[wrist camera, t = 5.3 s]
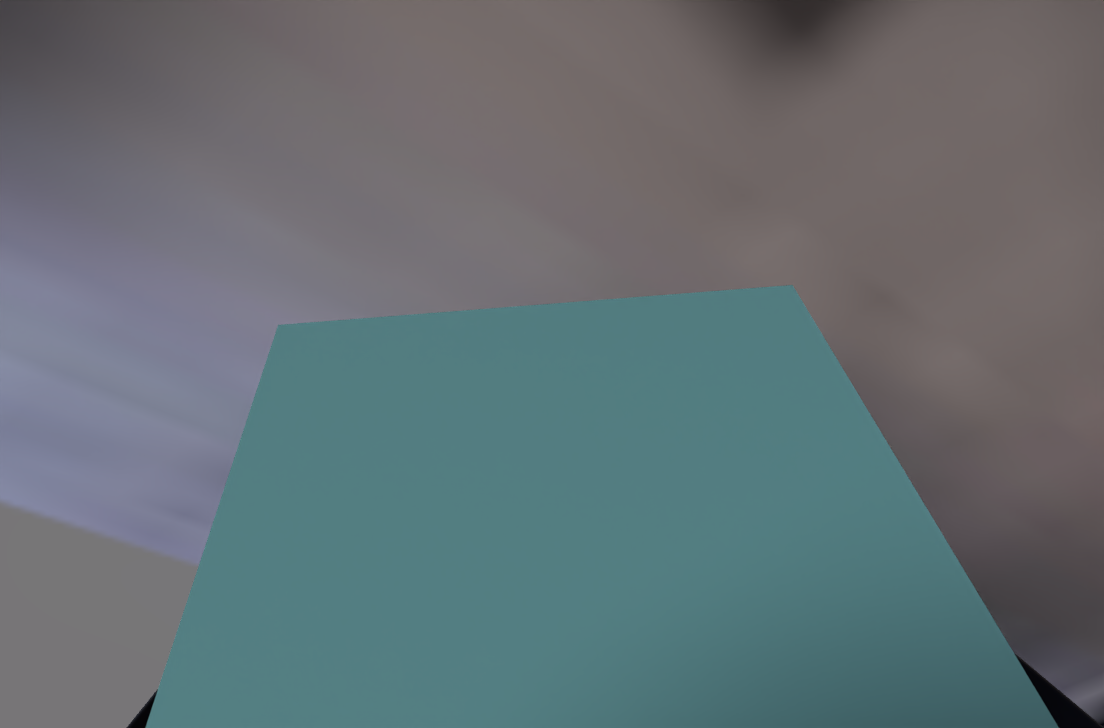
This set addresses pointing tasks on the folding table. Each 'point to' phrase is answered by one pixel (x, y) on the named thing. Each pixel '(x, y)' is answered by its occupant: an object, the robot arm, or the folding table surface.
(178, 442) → the folding table surface
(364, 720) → the teal block
